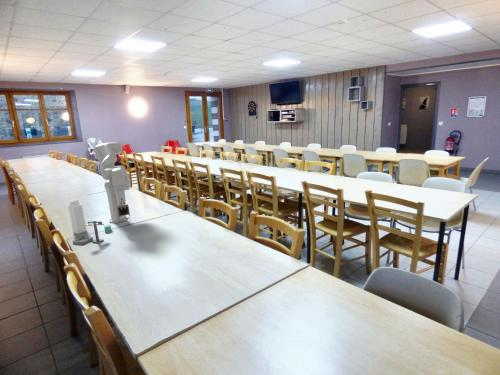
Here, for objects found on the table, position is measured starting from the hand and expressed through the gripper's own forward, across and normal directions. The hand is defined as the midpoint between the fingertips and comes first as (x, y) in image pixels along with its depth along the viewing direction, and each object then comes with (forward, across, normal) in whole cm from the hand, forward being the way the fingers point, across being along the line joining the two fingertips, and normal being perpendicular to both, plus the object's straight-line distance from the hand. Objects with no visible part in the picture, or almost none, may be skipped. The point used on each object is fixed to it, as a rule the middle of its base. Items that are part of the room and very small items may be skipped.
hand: (123, 213), depth 206 cm
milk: (+12, -17, -29) cm, 36 cm away
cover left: (+2, +1, 0) cm, 2 cm away
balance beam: (+1, +12, -18) cm, 22 cm away
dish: (+13, +6, -26) cm, 30 cm away
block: (+13, -6, -11) cm, 18 cm away
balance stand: (+13, +12, -18) cm, 25 cm away
